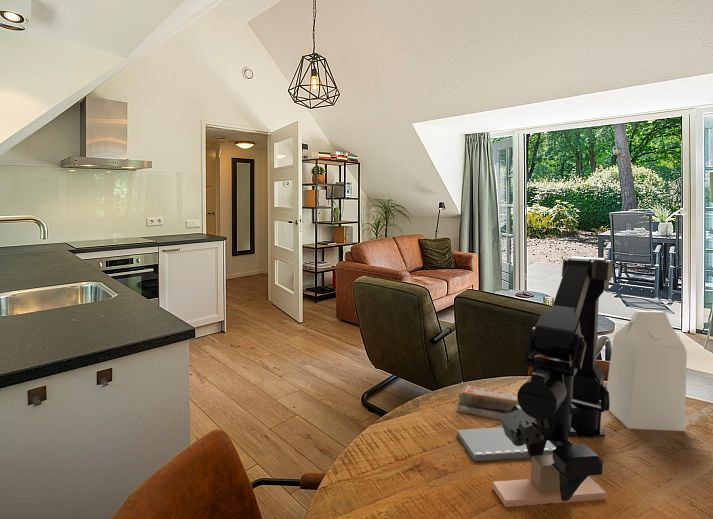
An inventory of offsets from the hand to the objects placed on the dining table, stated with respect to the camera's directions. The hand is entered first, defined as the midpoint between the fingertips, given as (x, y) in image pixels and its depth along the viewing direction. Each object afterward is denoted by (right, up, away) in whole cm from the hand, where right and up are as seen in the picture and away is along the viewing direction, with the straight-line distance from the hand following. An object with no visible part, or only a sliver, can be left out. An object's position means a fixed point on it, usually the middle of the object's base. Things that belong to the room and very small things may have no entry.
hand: (548, 482), depth 73 cm
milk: (+35, +1, +28) cm, 45 cm away
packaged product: (+1, +1, +32) cm, 32 cm away
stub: (0, -2, 0) cm, 2 cm away
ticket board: (-2, 0, +16) cm, 16 cm away
